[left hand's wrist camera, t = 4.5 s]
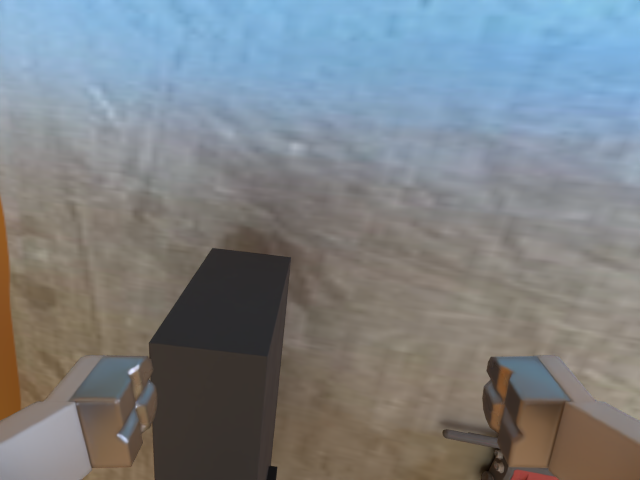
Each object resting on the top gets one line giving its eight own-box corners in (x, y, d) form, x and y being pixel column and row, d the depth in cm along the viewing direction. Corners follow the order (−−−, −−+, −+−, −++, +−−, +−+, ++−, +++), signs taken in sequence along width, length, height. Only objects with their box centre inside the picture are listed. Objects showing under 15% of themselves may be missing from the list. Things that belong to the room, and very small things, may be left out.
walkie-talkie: (612, 449, 49) (443, 415, 48) (637, 484, 45) (453, 448, 44) (578, 501, 53) (419, 471, 52) (598, 538, 49) (426, 506, 48)
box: (212, 247, 33) (148, 342, 22) (291, 257, 34) (267, 356, 22) (207, 475, 43) (160, 624, 31) (269, 482, 43) (244, 633, 31)
